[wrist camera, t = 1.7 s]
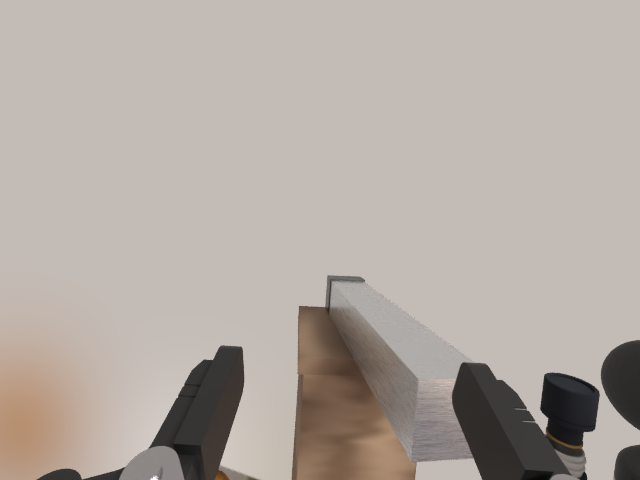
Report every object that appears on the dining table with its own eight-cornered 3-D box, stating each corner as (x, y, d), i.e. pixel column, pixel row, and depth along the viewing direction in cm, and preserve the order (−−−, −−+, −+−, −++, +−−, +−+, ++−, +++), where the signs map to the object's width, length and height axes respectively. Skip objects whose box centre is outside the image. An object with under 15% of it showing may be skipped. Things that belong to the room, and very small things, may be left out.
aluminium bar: (357, 309, 38) (360, 276, 38) (489, 457, 15) (499, 374, 14) (325, 308, 38) (327, 275, 38) (408, 462, 14) (416, 375, 14)
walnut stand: (365, 541, 41) (384, 310, 39) (398, 707, 27) (431, 361, 25) (283, 541, 40) (299, 306, 38) (275, 712, 26) (298, 356, 24)
